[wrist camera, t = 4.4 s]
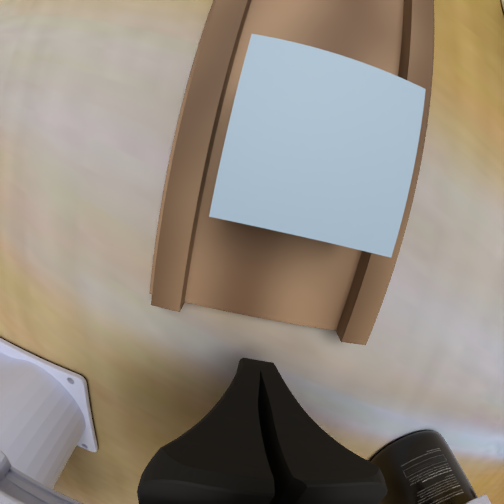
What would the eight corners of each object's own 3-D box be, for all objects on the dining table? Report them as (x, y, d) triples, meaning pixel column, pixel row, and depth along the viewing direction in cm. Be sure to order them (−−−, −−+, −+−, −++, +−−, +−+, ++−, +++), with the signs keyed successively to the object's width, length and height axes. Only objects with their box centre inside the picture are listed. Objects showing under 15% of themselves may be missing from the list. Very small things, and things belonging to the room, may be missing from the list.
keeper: (224, 202, 11) (209, 216, 8) (252, 77, 10) (251, 33, 6) (349, 230, 12) (391, 257, 8) (375, 111, 10) (425, 89, 7)
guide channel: (156, 285, 14) (108, 344, 8) (262, -100, 8) (264, -154, 3) (360, 325, 14) (402, 392, 9) (419, -55, 8) (454, -95, 3)
